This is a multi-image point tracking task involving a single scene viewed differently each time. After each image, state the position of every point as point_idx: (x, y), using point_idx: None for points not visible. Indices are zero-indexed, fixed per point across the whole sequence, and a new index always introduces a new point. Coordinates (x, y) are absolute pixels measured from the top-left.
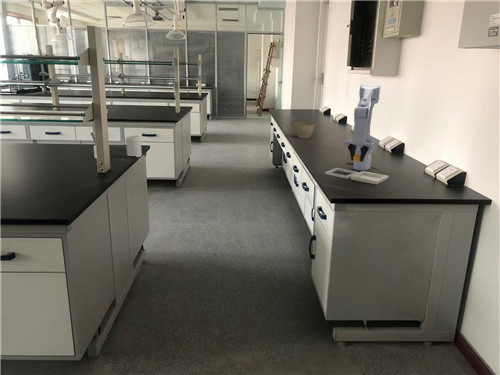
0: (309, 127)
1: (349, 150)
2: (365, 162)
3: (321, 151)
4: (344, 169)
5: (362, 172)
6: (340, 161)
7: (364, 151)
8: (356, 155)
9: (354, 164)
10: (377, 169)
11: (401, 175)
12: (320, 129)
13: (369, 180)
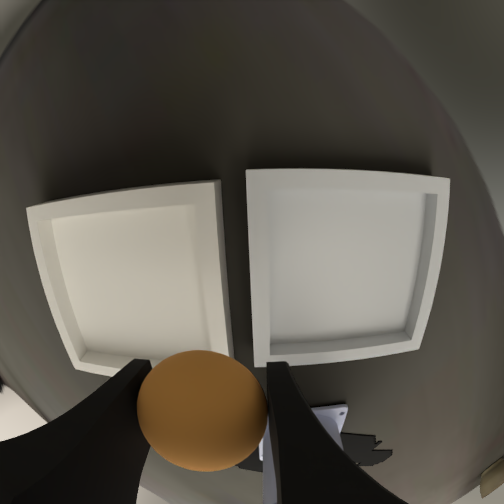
0: (491, 485)
1: (358, 477)
2: (268, 467)
3: (470, 454)
4: (366, 355)
5: None
6: (416, 448)
7: (6, 442)
8: (185, 422)
9: (335, 440)
10: (243, 465)
11: None
12: (457, 499)
13: (63, 199)
